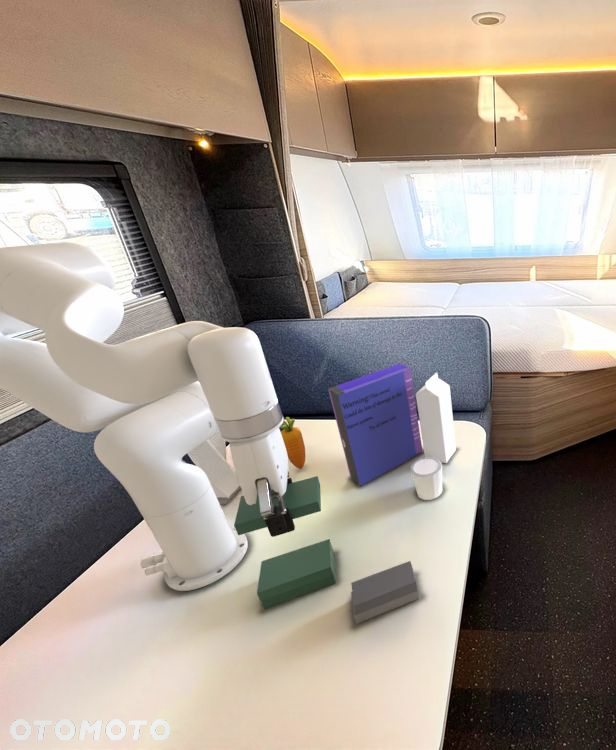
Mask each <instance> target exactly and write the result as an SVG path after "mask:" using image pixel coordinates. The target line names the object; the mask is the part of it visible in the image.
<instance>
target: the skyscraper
mask: <svg viewBox="0 0 616 750" xmlns="http://www.w3.org/2000/svg"><path fill="white" fill-rule="evenodd" d="M198 382H199V381H198ZM226 444H227V443H226V441H225V440H223V439H222V437H221V434H220V432H218V433H217V434H216V435H214V436H213V437H211V438H210V439H208V440H206V441H205V442H203V443H202V444H200V445H199V446H197V447H195V448H194V449H192V450H191V451H190V452H188V453H187V454H186V455H187V456H188V457H189V458H190V460H191V461H192V462H193V465H194V466H197V467H199V468H200V469H202V470H203V471H204V472H205V474H206V476H207V477H208V480H209V482H210V484H211V486H212V488H213V491H214V493H215V495H216V497H217V499H218V502H219V504H220V506H224V505H226V504H227V503H228V502H229V501H230V500H231V499H232V498H233V496H235V494H237V492H239V490H240V489H241V486H240V483H239V480H238V477H237V474H236V470H235V468H233V467H232V465H231V464H230V462H228V461H227V446H226ZM181 461H182V462H183V463H186V461H185V460H183V458H182V459H181Z"/></svg>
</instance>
